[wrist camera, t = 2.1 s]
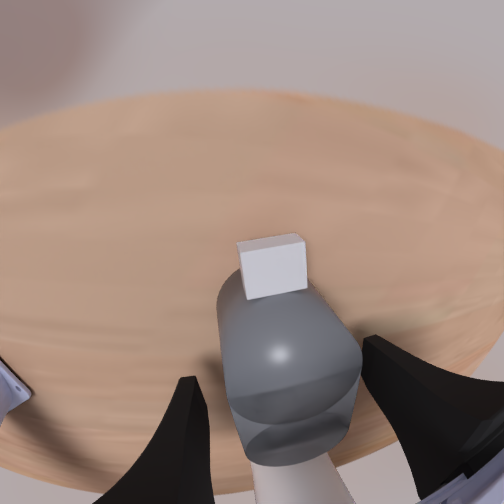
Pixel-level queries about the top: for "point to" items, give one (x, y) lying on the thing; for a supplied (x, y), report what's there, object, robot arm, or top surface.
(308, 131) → the top surface
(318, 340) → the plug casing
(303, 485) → the drinking glass
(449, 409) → the robot arm
